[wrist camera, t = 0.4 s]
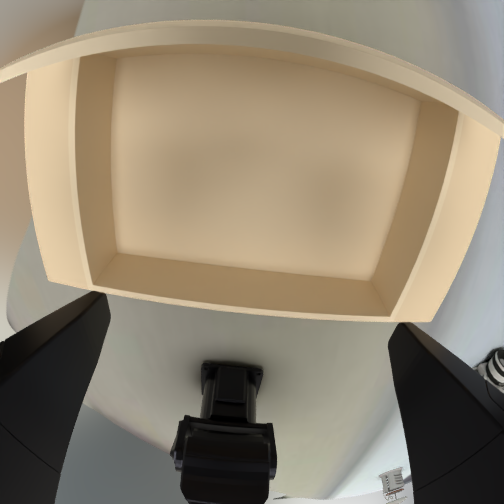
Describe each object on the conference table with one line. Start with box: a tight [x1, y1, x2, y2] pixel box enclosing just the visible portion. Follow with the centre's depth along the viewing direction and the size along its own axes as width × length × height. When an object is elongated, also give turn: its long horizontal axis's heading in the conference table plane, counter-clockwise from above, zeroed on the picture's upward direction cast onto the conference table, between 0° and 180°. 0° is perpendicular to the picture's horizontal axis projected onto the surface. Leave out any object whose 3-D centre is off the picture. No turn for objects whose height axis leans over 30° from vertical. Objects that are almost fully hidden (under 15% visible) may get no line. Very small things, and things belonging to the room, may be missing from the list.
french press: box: [379, 467, 407, 504], centre depth 55 cm, size 10×12×25 cm
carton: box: [24, 44, 501, 322], centre depth 16 cm, size 16×30×5 cm, turn 83°
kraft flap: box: [0, 20, 504, 139], centre depth 7 cm, size 8×22×1 cm
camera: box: [472, 350, 504, 393], centre depth 27 cm, size 16×9×10 cm, turn 82°
